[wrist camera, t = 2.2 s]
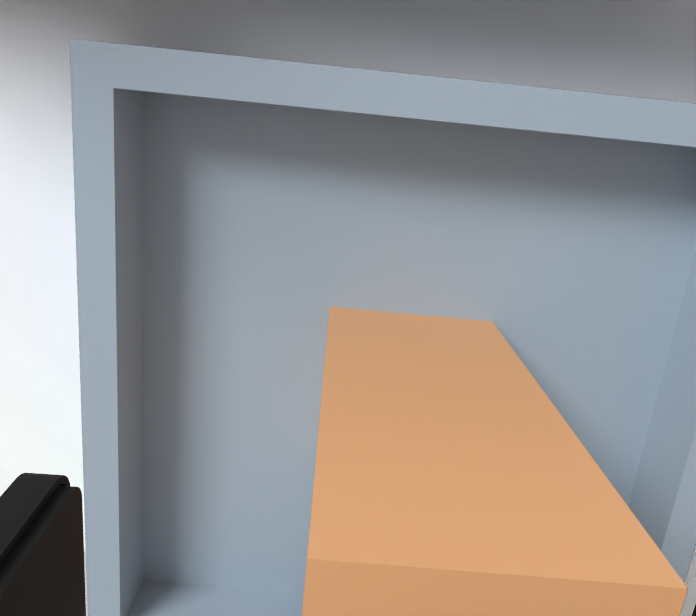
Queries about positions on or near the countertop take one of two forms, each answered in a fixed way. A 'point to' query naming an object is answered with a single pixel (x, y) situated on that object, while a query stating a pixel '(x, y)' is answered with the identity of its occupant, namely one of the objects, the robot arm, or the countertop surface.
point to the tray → (353, 292)
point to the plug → (462, 486)
